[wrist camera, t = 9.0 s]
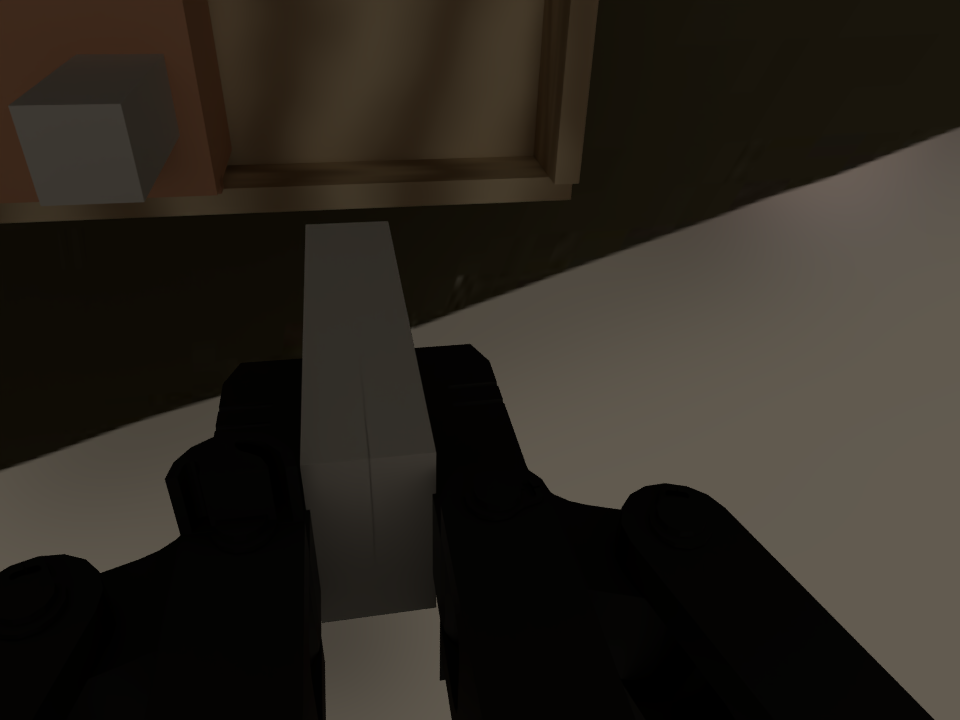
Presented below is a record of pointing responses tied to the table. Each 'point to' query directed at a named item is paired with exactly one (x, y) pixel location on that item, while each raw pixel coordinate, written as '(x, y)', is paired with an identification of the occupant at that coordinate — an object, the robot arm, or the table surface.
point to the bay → (387, 106)
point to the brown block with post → (109, 102)
